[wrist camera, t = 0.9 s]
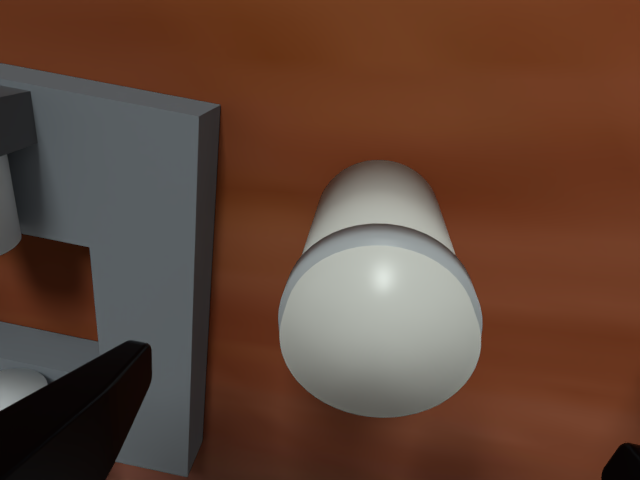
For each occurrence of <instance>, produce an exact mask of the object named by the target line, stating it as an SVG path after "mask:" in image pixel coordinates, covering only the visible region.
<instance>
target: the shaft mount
mask: <svg viewBox="0 0 640 480" xmlns="http://www.w3.org/2000/svg"><path fill="white" fill-rule="evenodd" d="M219 123H220V105H219V104H213V103H208V102H203V101H197V100H192V99H187V98H182V97H176V96H171V95H166V94H161V93H155V92H150V91H145V90H139V89H134V88H129V87H124V86H118V85H113V84H108V83H103V82H97V81H92V80H87V79H81V78H76V77H71V76H66V75H60V74H55V73H50V72H44V71H39V70H34V69H29V68H23V67H18V66H13V65H8V64H2V63H0V255H2V254H4V253H6V252H8V251H10V250H11V249H13V248H14V247H15V246H16V245H18V243H19V242H20V240H21V234H26V235H31V236H36V237H41V238H46V239H51V240H56V241H61V242H66V243H71V244H76V245H81V246H86V247H89V248H90V258H91V269H92V279H93V289H94V300H95V310H96V321H97V331H98V342H96V341H92V340H87V339H82V338H77V337H72V336H68V335H63V334H58V333H53V332H48V331H43V330H39V329H34V328H29V327H24V326H19V325H15V324H10V323H5V322H0V411H1V410H3V409H4V408H6V407H8V406H10V405H12V404H13V403H15V402H17V401H19V400H21V399H22V398H24V397H26V396H28V395H30V394H31V393H33V392H35V391H37V390H39V389H41V388H42V387H44V386H46V385H48V384H50V383H51V382H53V381H55V380H57V379H59V378H60V377H62V376H64V375H66V374H68V373H69V372H71V371H73V370H75V369H77V368H78V367H80V366H82V365H84V364H86V363H87V362H89V361H91V360H93V359H95V358H97V357H98V356H100V355H102V354H104V353H106V352H107V351H109V350H111V349H113V348H115V347H116V346H118V345H120V344H122V343H124V342H126V341H128V340H135V341H139V342H144V343H148V344H150V346H151V349H152V380H151V384H150V387H149V389H148V391H147V394H146V396H145V398H144V400H143V402H142V405H141V407H140V409H139V411H138V413H137V416H136V418H135V420H134V422H133V424H132V427H131V429H130V431H129V433H128V435H127V437H126V440H125V442H124V444H123V446H122V448H121V451H120V453H119V455H118V457H117V459H116V461H115V462H119V463H124V464H129V465H133V466H138V467H142V468H147V469H152V470H156V471H161V472H166V473H170V474H175V475H180V476H184V477H188V475H189V472H190V470H191V468H192V465H193V463H194V460H195V458H196V455H197V453H198V451H199V448H200V446H201V443H202V440H203V421H204V403H205V384H206V365H207V347H208V328H209V309H210V291H211V272H212V253H213V235H214V216H215V198H216V179H217V160H218V142H219Z"/></svg>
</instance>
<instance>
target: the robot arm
mask: <svg viewBox="0 0 640 480" xmlns="http://www.w3.org/2000/svg"><path fill="white" fill-rule="evenodd" d="M151 380H152V349H151V346H150V344H148V343H144V342H139V341H135V340H128V341H126V342H124V343H122V344H120V345H118V346H116V347H115V348H113V349H111V350H109V351H107V352H106V353H104V354H102V355H100V356H98V357H97V358H95V359H93V360H91V361H89V362H87V363H86V364H84V365H82V366H80V367H78V368H77V369H75V370H73V371H71V372H69V373H68V374H66V375H64V376H62V377H60V378H59V379H57V380H55V381H53V382H51V383H50V384H48V385H46V386H44V387H42V388H41V389H39V390H37V391H35V392H33V393H31V394H30V395H28V396H26V397H24V398H22V399H21V400H19V401H17V402H15V403H13V404H12V405H10V406H8V407H6V408H4V409H3V410H1V411H0V480H105V479H106V478H107V476H108V474H109V472H110V470H111V469H112V467H113V465H114V463H115V461H116V459H117V457H118V455H119V453H120V451H121V448H122V446H123V444H124V442H125V440H126V437H127V435H128V433H129V431H130V429H131V427H132V424H133V422H134V420H135V418H136V416H137V413H138V411H139V409H140V407H141V405H142V402H143V400H144V398H145V396H146V394H147V391H148V389H149V387H150V384H151ZM601 479H602V480H640V445H636V444H631V443H624V444H622V445H620V446H619V447H618V449H617V450H616V452H615V453H614V454H613V456H612V457H611V459H610V460H609V461H608V463H607V464H606V466H605V467H604V469H603V471H602V477H601Z"/></svg>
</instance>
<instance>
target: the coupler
mask: <svg viewBox="0 0 640 480" xmlns="http://www.w3.org/2000/svg"><path fill="white" fill-rule="evenodd" d="M278 323H279V331H280V336H279V337H280V347H281V351H282V355H283V358H284V360H285V362H286V365H287V367H288V368H289V370H290V372H291V373H292V375H293V376H294V377H295V379H296V380H297V381H298V382H299V383H300V384H301V385H302V386H303V387H304V388H305V389H306V390H307V391H308V392H309V393H311V394H312V395H313V396H315V397H316V398H318V399H319V400H321V401H322V402H324V403H326V404H328V405H330V406H332V407H334V408H337V409H339V410H342V411H345V412H348V413H352V414H356V415H361V416H367V417H380V418H385V417H400V416H407V415H411V414H416V413H419V412H422V411H425V410H428V409H430V408H432V407H435V406H437V405H439V404H440V403H442V402H444V401H445V400H447V399H449V398H450V397H451V396H452V395H454V394H455V393H456V392H457V391H458V390H459V389H460V388H461V387H462V386H463V385H464V384H465V383H466V382H467V380H468V379H469V378H470V376H471V375H472V373H473V371H474V369H475V367H476V365H477V362H478V359H479V355H480V349H481V333H482V313H481V308H480V304H479V301H478V298H477V296H476V293H475V290H474V287H473V285H472V282H471V279H470V276H469V274H468V273H467V271H466V269H465V267H464V265H463V264H462V263H461V262H460V260H459V259H458V258H457V256H456V255H455V252H454V249H453V246H452V243H451V240H450V237H449V234H448V231H447V228H446V225H445V222H444V219H443V216H442V214H441V211H440V208H439V205H438V202H437V199H436V196H435V194H434V192H433V190H432V188H431V187H430V185H429V184H428V183H427V181H426V180H425V179H424V178H423V177H422V176H421V175H420V174H418V173H417V172H416V171H414V170H413V169H411V168H409V167H407V166H405V165H403V164H400V163H397V162H393V161H386V160H371V161H364V162H361V163H357V164H355V165H352V166H350V167H348V168H346V169H344V170H343V171H341V172H340V173H339V174H337V175H336V176H335V177H334V178H333V179H332V180H331V181H330V182H329V184H328V185H327V186H326V188H325V189H324V191H323V193H322V195H321V198H320V200H319V203H318V206H317V210H316V213H315V216H314V219H313V222H312V225H311V228H310V232H309V235H308V238H307V241H306V244H305V247H304V250H303V254H302V256H301V257H300V258H299V260H298V261H297V262H296V264H295V266H294V267H293V269H292V271H291V273H290V276H289V278H288V281H287V284H286V286H285V289H284V292H283V295H282V298H281V302H280V307H279V315H278Z"/></svg>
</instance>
